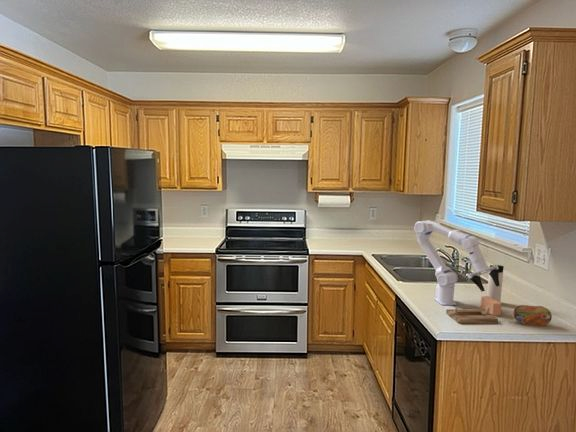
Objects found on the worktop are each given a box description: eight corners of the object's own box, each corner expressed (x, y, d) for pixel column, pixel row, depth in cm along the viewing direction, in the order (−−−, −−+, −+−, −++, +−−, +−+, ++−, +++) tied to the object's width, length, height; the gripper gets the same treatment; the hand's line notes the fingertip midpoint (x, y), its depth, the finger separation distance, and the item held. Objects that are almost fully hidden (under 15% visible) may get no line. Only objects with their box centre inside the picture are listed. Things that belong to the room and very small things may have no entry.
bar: (480, 308, 200) (481, 296, 199) (488, 308, 201) (489, 296, 200) (492, 315, 190) (493, 303, 190) (500, 315, 191) (501, 303, 190)
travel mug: (492, 305, 204) (495, 266, 202) (483, 300, 211) (487, 263, 208) (503, 305, 205) (507, 266, 203) (494, 300, 212) (498, 263, 209)
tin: (514, 323, 181) (516, 305, 180) (511, 321, 184) (513, 303, 183) (551, 326, 179) (553, 308, 178) (547, 324, 182) (549, 305, 181)
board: (446, 313, 191) (446, 303, 191) (482, 313, 193) (483, 303, 192) (458, 323, 180) (459, 312, 179) (497, 323, 181) (498, 312, 180)
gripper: (467, 263, 188) (480, 292, 184) (496, 254, 189) (509, 282, 186) (461, 266, 195) (473, 294, 191) (488, 257, 196) (501, 284, 192)
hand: (490, 288), depth 189 cm, fingers open, 7 cm apart
